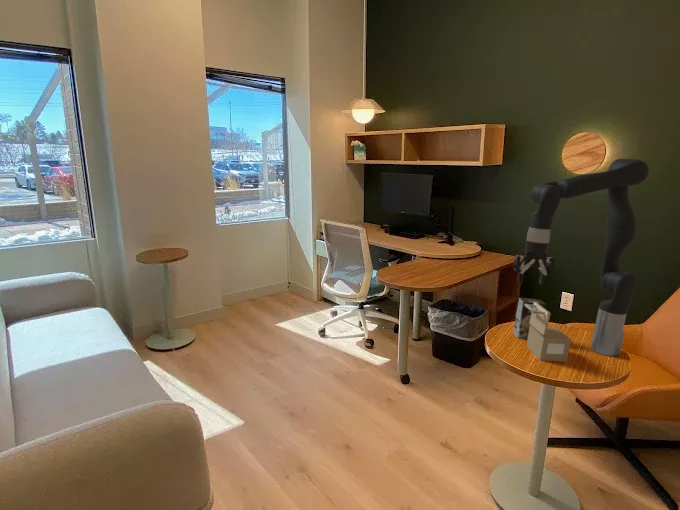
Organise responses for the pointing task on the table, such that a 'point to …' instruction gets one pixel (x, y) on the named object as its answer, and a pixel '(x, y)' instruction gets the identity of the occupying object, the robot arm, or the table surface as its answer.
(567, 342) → the carton
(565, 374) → the table surface
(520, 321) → the coffee box
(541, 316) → the flap
